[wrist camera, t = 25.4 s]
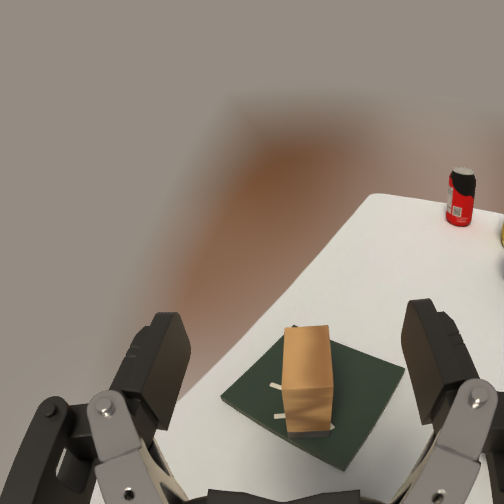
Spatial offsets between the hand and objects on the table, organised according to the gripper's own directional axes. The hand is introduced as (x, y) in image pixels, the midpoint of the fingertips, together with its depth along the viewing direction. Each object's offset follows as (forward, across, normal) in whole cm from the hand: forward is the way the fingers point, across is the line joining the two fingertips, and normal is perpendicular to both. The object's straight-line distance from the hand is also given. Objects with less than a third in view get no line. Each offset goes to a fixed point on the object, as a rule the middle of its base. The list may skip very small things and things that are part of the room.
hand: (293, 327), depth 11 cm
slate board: (+13, -1, +23) cm, 26 cm away
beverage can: (+52, -37, +23) cm, 67 cm away
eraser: (+10, 0, +22) cm, 24 cm away
